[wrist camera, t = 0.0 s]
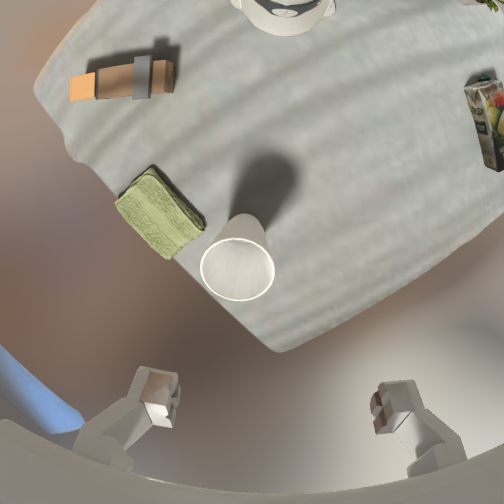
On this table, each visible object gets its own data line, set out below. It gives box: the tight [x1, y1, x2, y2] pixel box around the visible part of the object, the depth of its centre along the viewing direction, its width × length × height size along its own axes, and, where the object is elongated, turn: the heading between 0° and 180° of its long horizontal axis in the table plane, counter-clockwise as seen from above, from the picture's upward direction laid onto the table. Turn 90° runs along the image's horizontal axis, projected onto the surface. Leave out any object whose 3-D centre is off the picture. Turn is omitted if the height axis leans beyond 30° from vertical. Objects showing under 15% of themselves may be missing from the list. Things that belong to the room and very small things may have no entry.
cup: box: [200, 214, 275, 301], centre depth 53 cm, size 12×12×16 cm
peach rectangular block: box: [70, 72, 96, 101], centre depth 43 cm, size 5×6×5 cm
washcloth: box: [115, 167, 205, 259], centre depth 58 cm, size 13×18×3 cm
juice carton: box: [464, 76, 504, 172], centre depth 41 cm, size 20×10×6 cm, turn 30°
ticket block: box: [96, 55, 175, 100], centre depth 43 cm, size 8×14×6 cm, turn 86°
